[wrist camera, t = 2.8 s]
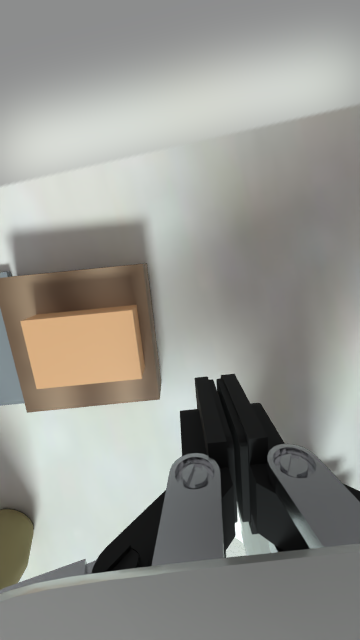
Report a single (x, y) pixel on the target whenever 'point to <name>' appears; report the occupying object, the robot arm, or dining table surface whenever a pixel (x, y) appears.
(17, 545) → the squeeze bottle
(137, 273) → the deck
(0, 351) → the mat
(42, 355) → the tile
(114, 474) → the dining table surface
